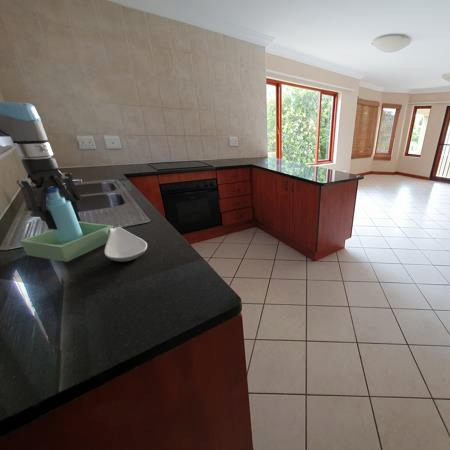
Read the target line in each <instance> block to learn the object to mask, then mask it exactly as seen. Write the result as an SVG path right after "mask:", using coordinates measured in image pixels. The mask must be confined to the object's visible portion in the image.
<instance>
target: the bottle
mask: <svg viewBox="0 0 450 450" xmlns="http://www.w3.org/2000/svg"><path fill="white" fill-rule="evenodd" d="M46 210H47V211H50V213H51V215H52V217H53V220H54V222H55V224H56V227H57V229H56V230H53V229H52V230H53V231H54V233H55V235H56V238H57V240H58V241H60V242H65V241H71V240H75V239H78V238H80V237H82V236H83V233H82V231H81V228H80V226H79V223H78V222H79V221H78V220H77V218H76V215H75V213H74V210H73V207H72V205H71V202H70V201H69V200H66V199H65V198H64V197H63V196H61V193H60V192H59V190H58V187H53V186H51V187H48V190H47V192H46Z"/></svg>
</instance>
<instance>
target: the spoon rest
mask: <svg viewBox="0 0 450 450" xmlns="http://www.w3.org/2000/svg"><path fill="white" fill-rule="evenodd" d="M147 249H148V243H147V242H146V241H145V240H144V239H143V238H141V237H138V236H136V235H135V234H133V233H131V232H129V231H127V230H126V229H124V228H122V227H121V226H117V227H113V229H109V230H108V241H107V243H106V244H105V247H104V255H105V257H107V259H109V260H112V261H114V262H121V263H122V262H130V261H133V260H136V259H137V258H140V257H141V256H142V255H143V254H144V253H146V250H147Z"/></svg>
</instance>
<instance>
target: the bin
mask: <svg viewBox="0 0 450 450" xmlns="http://www.w3.org/2000/svg"><path fill="white" fill-rule="evenodd" d="M78 223H79V226H80V228H81V231H82V233H83V236H82V237H80V238H78V239H75V240H71V241H65V242H60V241H58V240H57V238H56V235H55V233H54V231H53V229H49V230H47V231H44V232H42V233H41V232H40V233H38V234H36V235H32V236H29V237H26V238H23V239H21V240H19V242H20V245H21V247H22V248H23V250H24V253H25V254H26V256H27V257H28V256H29V257H34V258H42V259H46V260H47V259H48V260H53V261H59V262H65V263H68V262H70V261H73V260H74V259H76V258H78V257H80V256H83V255H85V254H87V253H89V252H91V251H93V250H95V249H98V248H99V247H102V246H104V245H106V243H107V241H108V230H109V229H114V227H113V225H110V224H101V223H95V222H94V223H93V222H85V221H78Z"/></svg>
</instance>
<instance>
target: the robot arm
mask: <svg viewBox="0 0 450 450" xmlns="http://www.w3.org/2000/svg"><path fill="white" fill-rule="evenodd" d="M41 119H42V118H41V117H40V115H39V113H38V111H37V108H36V107H35V106H34V104H31V103H29V102H17V101H0V138H1V137H3V138H5V137H10V138H11V141H12V143H13V146H14V148H15V150H16V152H17V155H18V158H22V159H21V160H20V161H21V164H22V167H23V168H24V171H25V172H26V174H27V175H26V177H27V178H23V179H17V180H16V184H17V185H18V186H19V188H20V189H21V192H22V195H23V199H24V201H25V205H26V208H27V211H28V212H31V213H32V212H34V213H38V216H39V218H40V220H41V221H42V222H45V224H46V226H47V229H48V230H56V229H57V227H56V224H55V222H54V220H53V217H52V215H51V213H50V211H47V210H46V199H47V195H46V192H47V190H48V188H50V187H58V190H59V191H58V192H59V194H60V196H61V197H64V198H65V200H69V201H70V202H71V205H72V207H73V210H74V213H75V215H76V218H77V220H78V222H82V221H81V216H80V215H79V212H80V209H79V206H78V204H79V202H80V201H81V200H82V196H81V194H80V192H79V190H78V188H77V186H76V184H75V182H74V180H73V174H72V173H71V172H61V171H60V170H59V164H58V163H57V159H56V158H55V157H54V152H53V150H52V147H51V144H50V142H49V139H48V136H47V133H46V131H45V128H44V125H43V122H42V120H41ZM61 179H62V180H63V182H64V183H63V182H62V181H61ZM33 184H34V190H35V193H34V190H33V187H32V185H33Z"/></svg>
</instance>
